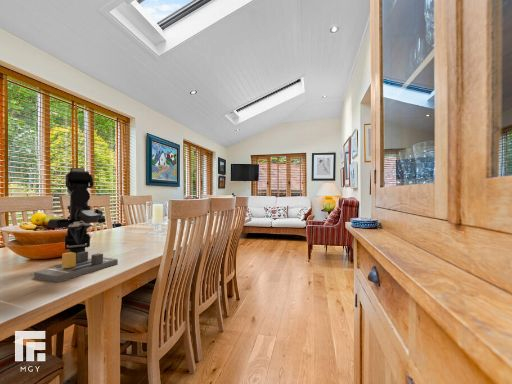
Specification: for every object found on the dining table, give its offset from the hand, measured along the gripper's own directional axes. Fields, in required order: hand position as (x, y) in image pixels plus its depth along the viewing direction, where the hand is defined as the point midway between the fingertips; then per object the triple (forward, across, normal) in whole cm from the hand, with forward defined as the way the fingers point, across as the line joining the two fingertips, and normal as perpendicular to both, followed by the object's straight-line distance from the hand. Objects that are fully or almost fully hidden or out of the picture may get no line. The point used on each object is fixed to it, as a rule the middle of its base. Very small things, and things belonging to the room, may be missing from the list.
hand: (78, 243), depth 99 cm
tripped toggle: (+8, -3, 0) cm, 9 cm away
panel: (+11, +1, 0) cm, 11 cm away
